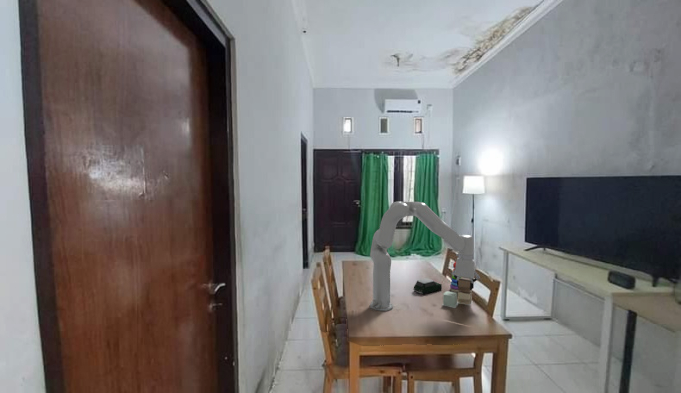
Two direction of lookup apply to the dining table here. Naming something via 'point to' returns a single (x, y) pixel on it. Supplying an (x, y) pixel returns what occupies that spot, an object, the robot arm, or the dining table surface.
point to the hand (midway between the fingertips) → (465, 287)
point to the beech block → (465, 297)
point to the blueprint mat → (457, 304)
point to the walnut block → (464, 284)
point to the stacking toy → (454, 281)
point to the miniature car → (427, 286)
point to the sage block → (450, 299)
